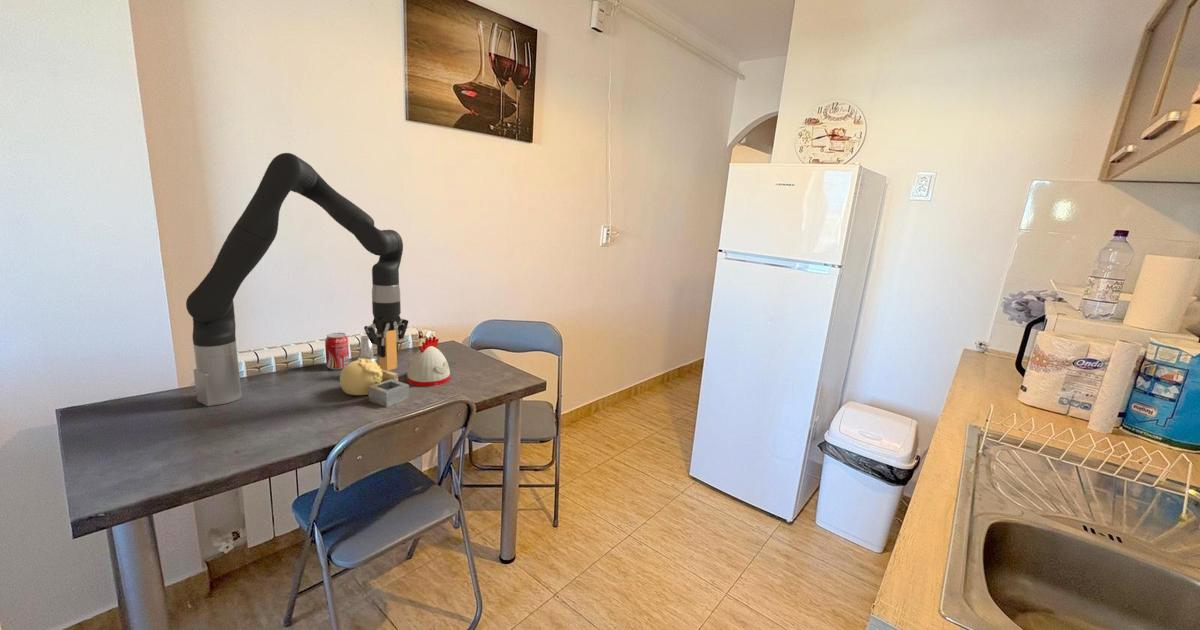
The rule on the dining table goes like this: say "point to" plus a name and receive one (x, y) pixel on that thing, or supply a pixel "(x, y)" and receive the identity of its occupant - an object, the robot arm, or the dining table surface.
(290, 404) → the dining table surface
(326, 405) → the dining table surface
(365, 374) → the sculpture
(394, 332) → the orange rectangular block
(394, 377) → the brown wooden plank
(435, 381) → the kitchen timer
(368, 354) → the ringlock post
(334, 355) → the soda can
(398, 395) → the grey open-top box
